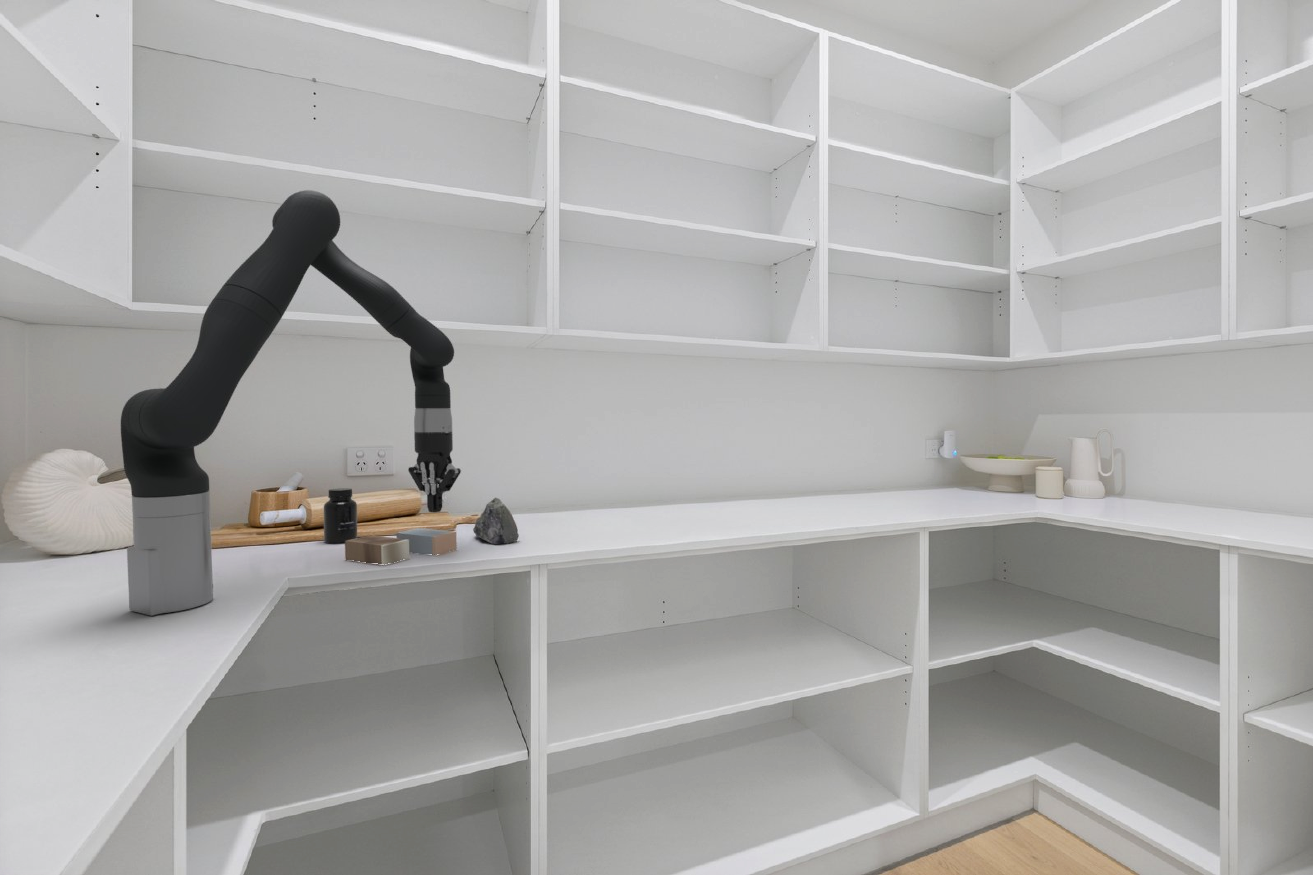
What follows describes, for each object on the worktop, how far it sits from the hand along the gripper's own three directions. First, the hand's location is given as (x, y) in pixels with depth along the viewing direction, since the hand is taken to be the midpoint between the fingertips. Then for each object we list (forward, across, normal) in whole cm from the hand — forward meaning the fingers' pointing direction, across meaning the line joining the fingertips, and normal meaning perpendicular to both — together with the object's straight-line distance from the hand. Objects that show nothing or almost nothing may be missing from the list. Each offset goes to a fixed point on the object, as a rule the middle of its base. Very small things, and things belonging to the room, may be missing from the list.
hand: (435, 511), depth 126 cm
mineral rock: (+9, +4, +15) cm, 18 cm away
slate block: (+7, +3, 0) cm, 7 cm away
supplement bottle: (+9, -28, -1) cm, 29 cm away
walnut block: (+7, 0, -10) cm, 12 cm away
